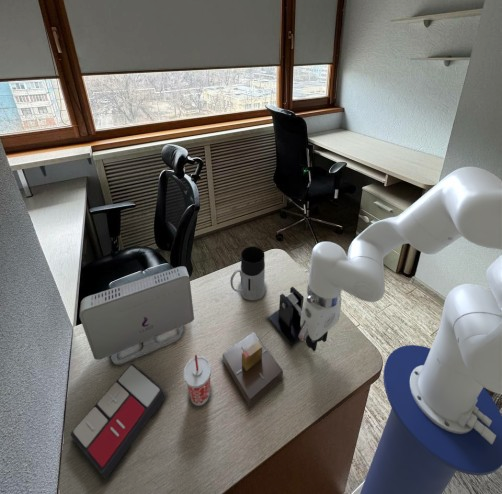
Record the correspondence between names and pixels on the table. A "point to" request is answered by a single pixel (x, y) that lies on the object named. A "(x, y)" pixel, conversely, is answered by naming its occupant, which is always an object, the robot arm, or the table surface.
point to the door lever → (298, 308)
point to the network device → (137, 314)
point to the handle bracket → (288, 318)
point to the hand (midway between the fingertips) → (315, 341)
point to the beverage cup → (198, 379)
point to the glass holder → (251, 273)
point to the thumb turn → (251, 356)
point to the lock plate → (252, 370)
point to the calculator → (118, 419)
